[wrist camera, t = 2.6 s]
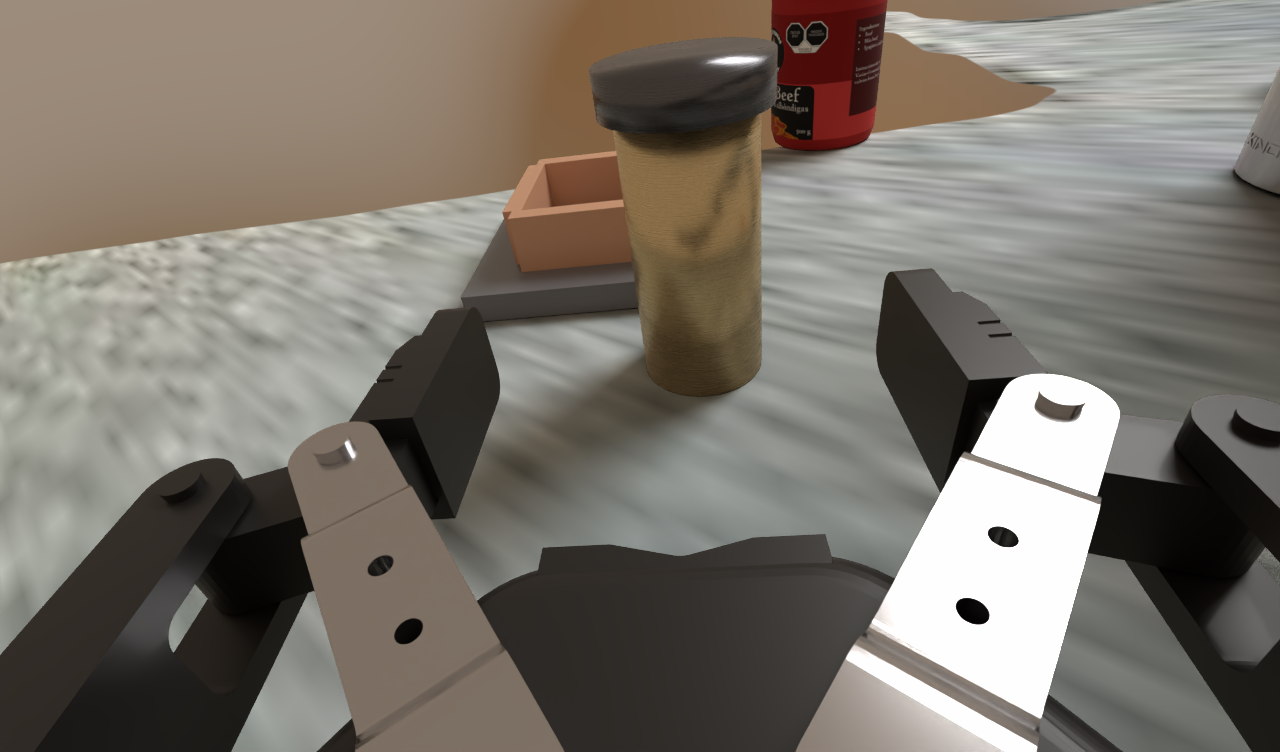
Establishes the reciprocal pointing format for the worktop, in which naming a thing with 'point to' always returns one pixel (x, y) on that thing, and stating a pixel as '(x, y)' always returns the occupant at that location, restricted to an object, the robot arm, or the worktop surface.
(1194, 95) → the worktop surface
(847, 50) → the canned food
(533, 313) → the open box
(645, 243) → the spice jar
